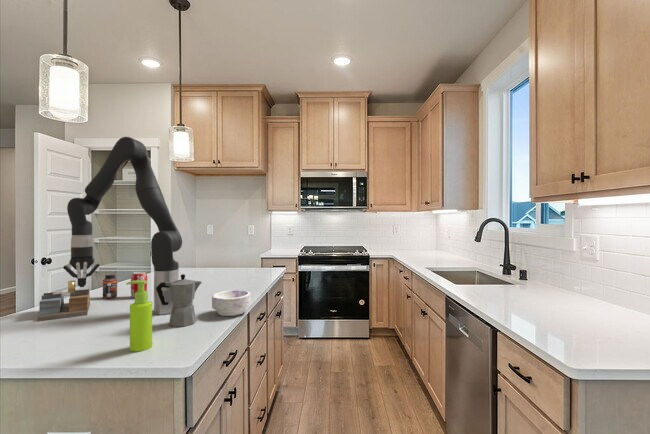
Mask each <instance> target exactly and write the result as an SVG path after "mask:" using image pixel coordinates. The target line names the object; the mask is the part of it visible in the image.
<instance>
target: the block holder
mask: <svg viewBox="0 0 650 434" xmlns="http://www.w3.org/2000/svg"><path fill="white" fill-rule="evenodd" d="M56 292H57V291H55V292H43V295H41V299H40V301H39V304H38V306H39V307H38V308H39V315H38V316H37V322H43V321H51V320H58V319H59V320H60V319H67V318H74V317H83V316H88V313H89V311H90V310H89V309H90V306H91V300H90V297H91V295H90V293H91V292H90V288H88V289H75V292H74V293H70V296H69V298H68V302H66V303H65V296H64V297H61V294H53V293H56Z"/></svg>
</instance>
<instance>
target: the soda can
mask: <svg viewBox="0 0 650 434" xmlns="http://www.w3.org/2000/svg"><path fill="white" fill-rule="evenodd" d="M136 280H143V281H147V283H146V284H144V290H145V291H147V292H148V274H147V272H146V271H134V272H132V275H131V277H130V282H131V281H136ZM137 291H138V284H130V296H131V298H133V299H135V292H137Z"/></svg>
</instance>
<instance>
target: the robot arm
mask: <svg viewBox="0 0 650 434" xmlns="http://www.w3.org/2000/svg"><path fill="white" fill-rule="evenodd" d="M126 161H129V162H130V164H131V166H132V168H133V171H134V173H135V177H136V178H135V193H136V196H137V199H138V201H139V204H140V206H141V208H142V209H143V210H144V211H145V213H146V214H147V215H148V216H149V217H150V218H151V220H153V222H154V223H155V224H156V227H157V228H158V232H156V233H154V234H153V236H152V238H151V243H150V253H151V263H152V265H153V313H154V314H155V315H160V316H162V315H167V314H171V310H172V307H173V302H172V300H171V294H170V288H165V287H163V288H161V290H162V292H163V296H164V301H165V302H169V303H168V305H162V303H161V301H160V298H159V296H158V293H157V291H156V287H157V286H158V285H159V284H160V283H161V282H174V281H177V280H180V279H179V274H180V272H179V266H180V265H179V262H178V261H176V260H175V259H174V253H176V252H178V251H179V250H181V248H182V245H183V239H182V235H181V233H180V231H179V229H178V227H177V226H176V223H175V222H174V220H173V218H172V215H171V212H170V210H169V208H168V205H167V203H166V200H165V197H164V195H163V192H162V189H161V187H160V185H159V183H158V179H157V176H156V175H155V172H154V170H153V167H152V165H151V164H152V163H151V159H150V157H149V152H148V149H147V147H146V146H145V144H144V143H143V142H142V141H140V140H137V139H135V138H133V137H130V136H123V137H121V138H119V139H118V140H117V141H116V142H115V144H114V145H113V147H112V149H111V151H110V152H109V154H108V156H107V157H106V158H105V161H104V163H103V165H102V166H101V168H100V169H99V170H98V172H97V173H96V174H95V176H94V177H93V178H92V179H91V180H90V182H88V184H87V185H86V186H85V188H84V193H85V194H86V195H85V196H84V197H83V198H82V197H73V198H72V199H70V200H69V201H68V202H67V206H66V211H67V215H68V218H69V222H70V224H71V239H70V260H69V262H68V263H67V264H66V265H64V266H63V267H62V269H64V270H65V272H66V273H68V275H70V276H71V277H72V278H75V279H77V286H78V287H79V288H84V287H85V286H86V285H87V278H88V277H91V276H92V275H93V274H94V273H95V271H97V269H98V268H99V267H100V263H98V262H96V261H95V258H94V239H93V222H91V221H89V220H88V219H87V215H89V216H90V215H91V214H93V213H94V212H95V211H96V210H97V209H98V207H99V205H100V203H101V201H102V199H103V197H104V196H105V195H106V193H107V192H108V191H109V190H110V189H111V188H112V186H113V185H114V183H115V179H116V175H117V172H118V170H119V169H120V167H121V166H122V165H123V164H124V163H125V162H126ZM91 266H92V269H91V270H90V271H89V272H88V270H89V269H90V268H91ZM72 267H73V269H74V270H76V273H75V271H74V270H72Z"/></svg>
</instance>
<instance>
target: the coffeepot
mask: <svg viewBox="0 0 650 434" xmlns="http://www.w3.org/2000/svg"><path fill="white" fill-rule="evenodd" d="M201 284H203V283H202V281H200V280H193V279H187V278H186V274H184V273H183V274H180V279H179V280H177V281H174V282H161V283H160V284H159V285H158V286H157V287H156V291H157V293H158V296H159V298H160V301H161V303H162V305H168V303H169V302H165V301H164V296H163V292H162V290H161V288H163V287H165V288H170V294H171V300H172V302H173V307H172V310H171V313H170V316H169V323H168V324H169V326H170V327H173V328H184V327H185V328H186V327H190V326H192V325H194V324H195V323H196V322H197V317H196V312H195V305H194V303H193V301H194V300H195V295H196V292H197V290H198V288H199V287H200V285H201Z"/></svg>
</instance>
